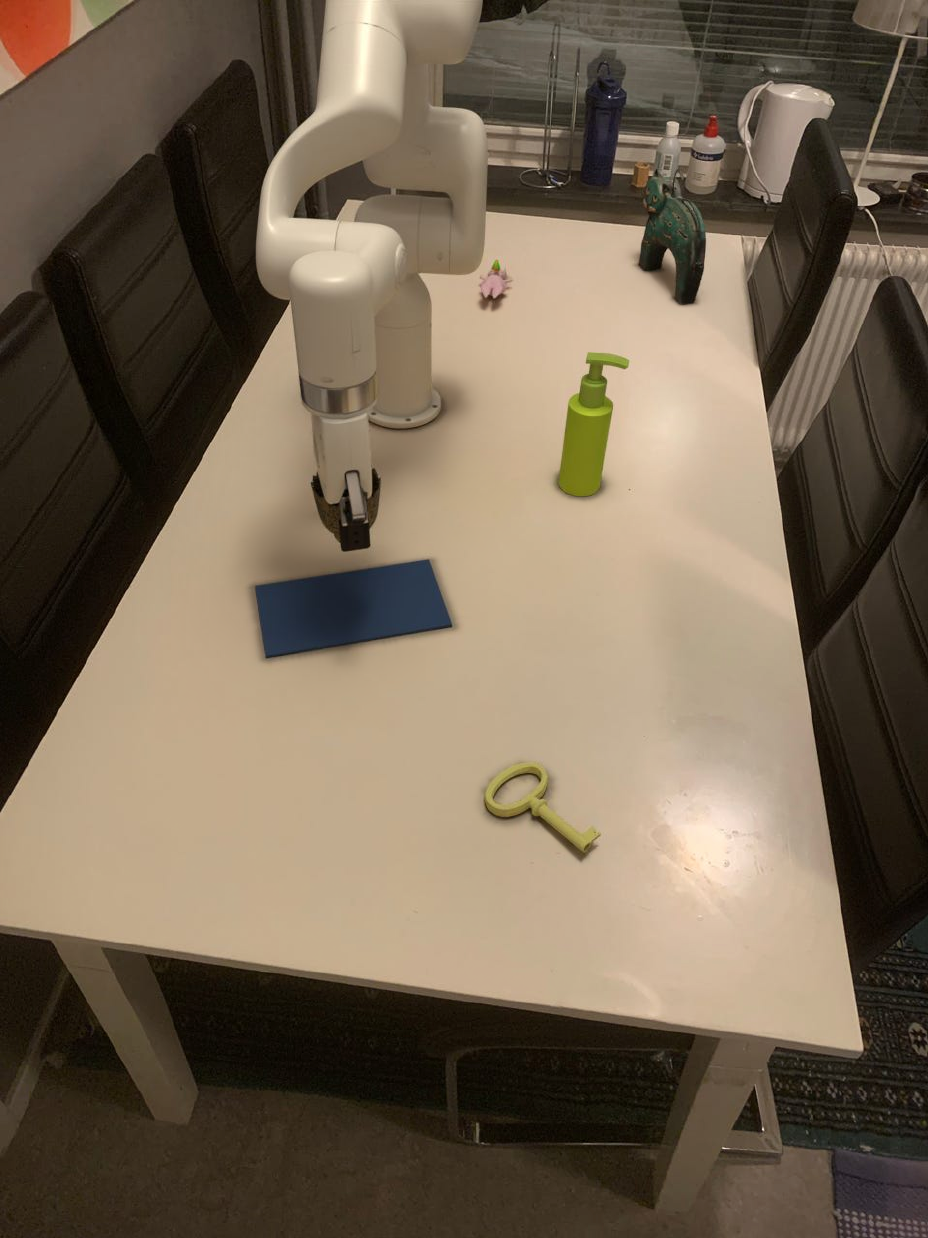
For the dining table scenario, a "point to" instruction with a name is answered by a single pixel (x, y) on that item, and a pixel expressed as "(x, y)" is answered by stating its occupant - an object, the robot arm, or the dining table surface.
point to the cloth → (350, 607)
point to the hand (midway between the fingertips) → (349, 525)
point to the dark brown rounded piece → (332, 512)
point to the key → (536, 804)
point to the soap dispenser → (588, 429)
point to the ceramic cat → (673, 235)
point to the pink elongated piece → (494, 281)
